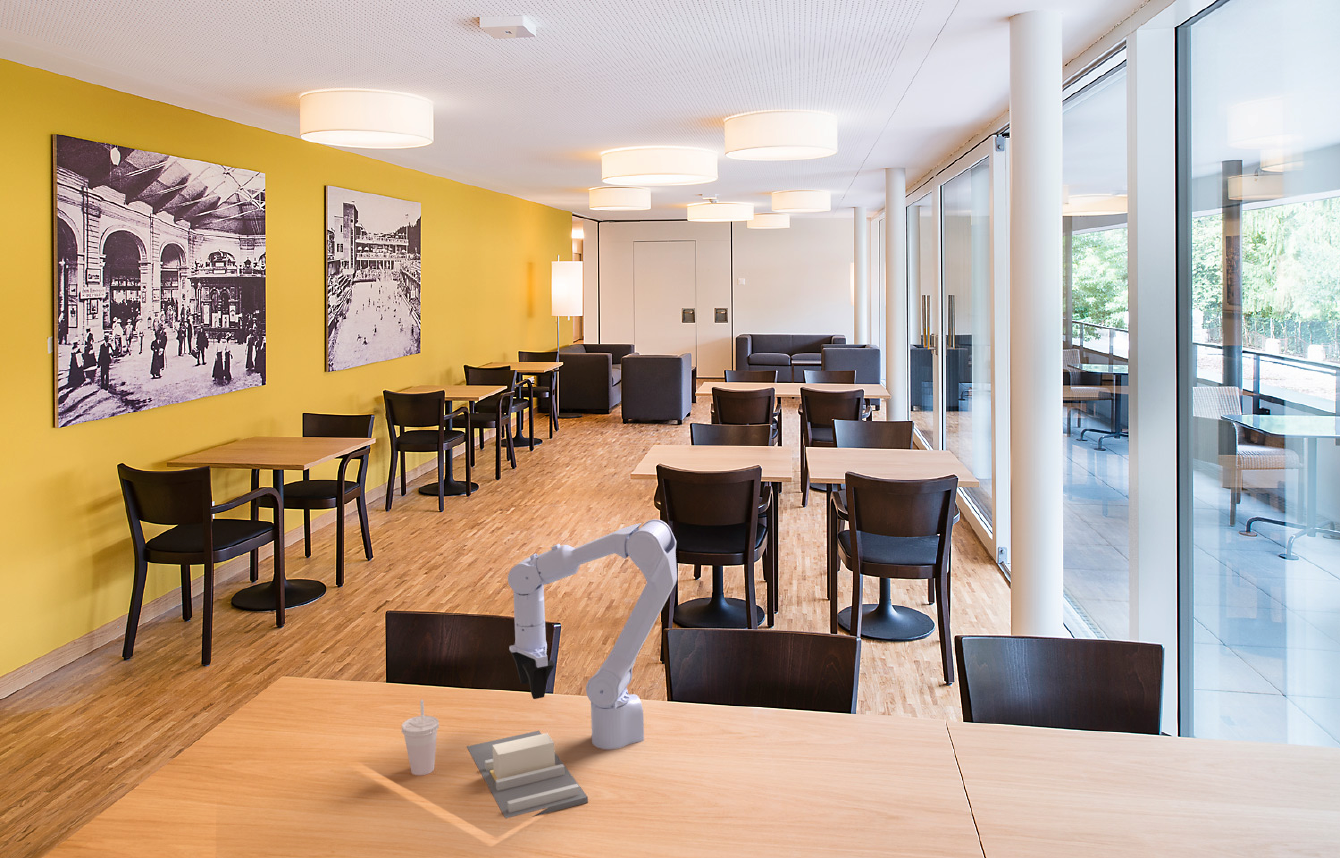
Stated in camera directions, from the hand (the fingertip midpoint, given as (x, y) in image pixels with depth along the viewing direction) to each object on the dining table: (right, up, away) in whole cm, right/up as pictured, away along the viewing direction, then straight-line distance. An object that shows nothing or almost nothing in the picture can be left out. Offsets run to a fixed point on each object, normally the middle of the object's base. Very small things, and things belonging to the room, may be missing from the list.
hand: (532, 690), depth 174 cm
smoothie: (-18, -12, -13) cm, 25 cm away
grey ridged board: (+1, -11, -13) cm, 18 cm away
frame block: (+1, -10, -14) cm, 17 cm away
